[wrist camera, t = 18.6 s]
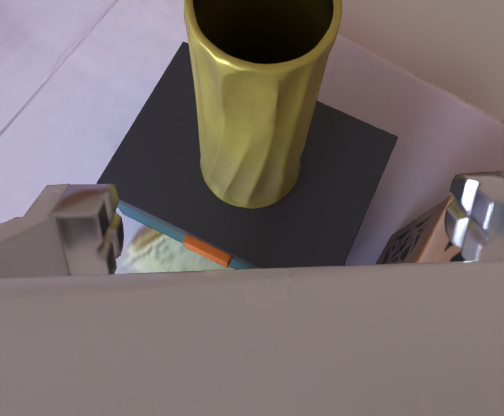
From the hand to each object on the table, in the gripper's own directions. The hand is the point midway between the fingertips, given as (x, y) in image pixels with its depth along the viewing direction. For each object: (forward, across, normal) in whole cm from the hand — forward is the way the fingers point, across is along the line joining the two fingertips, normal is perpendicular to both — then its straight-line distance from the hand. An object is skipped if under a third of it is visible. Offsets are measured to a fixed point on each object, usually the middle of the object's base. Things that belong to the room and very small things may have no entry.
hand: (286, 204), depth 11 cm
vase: (+17, 0, +6) cm, 18 cm away
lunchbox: (+21, 0, +11) cm, 24 cm away
